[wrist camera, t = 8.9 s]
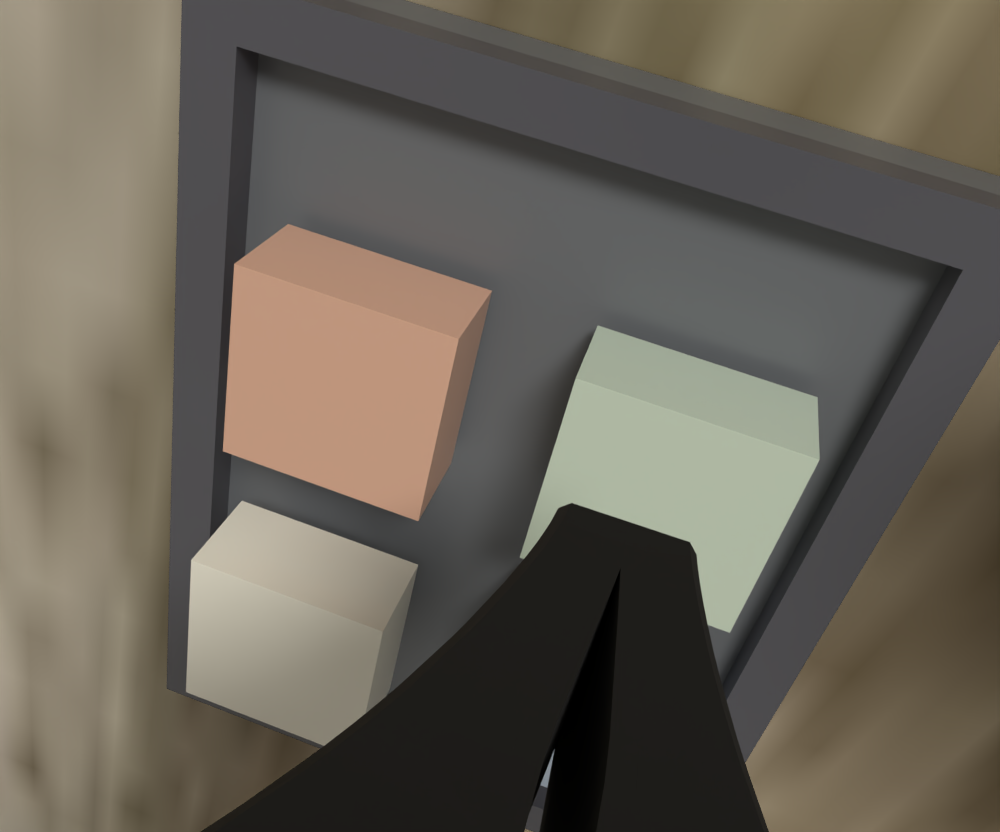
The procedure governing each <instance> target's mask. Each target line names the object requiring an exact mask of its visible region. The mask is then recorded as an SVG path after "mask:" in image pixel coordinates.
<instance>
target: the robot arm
mask: <svg viewBox="0 0 1000 832" xmlns="http://www.w3.org/2000/svg"><path fill="white" fill-rule="evenodd" d="M554 749H555V750H554ZM553 752H554V755H553V760H552V766H551V771H550V776H549V782H548V787H547V793H546V798H545V803H544V809H543V814H542V820H541V825H540V831H539V832H769V831H768V828H767V826H766V823H765V820H764V817H763V814H762V811H761V808H760V805H759V803H758V800H757V797H756V794H755V791H754V788H753V785H752V783H751V780H750V777H749V774H748V771H747V768H746V764H745V761H744V758H743V755H742V752H741V749H740V745H739V742H738V739H737V736H736V732H735V729H734V725H733V722H732V718H731V714H730V711H729V707H728V704H727V700H726V697H725V693H724V690H723V686H722V683H721V679H720V675H719V671H718V667H717V663H716V659H715V655H714V651H713V646H712V642H711V637H710V633H709V628H708V624H707V619H706V614H705V609H704V603H703V598H702V592H701V586H700V579H699V572H698V564H697V554H696V552H695V551H694V549H693V547H692V545H691V543H690V542H688V541H685V540H682V539H679V538H676V537H673V536H670V535H667V534H664V533H661V532H658V531H655V530H652V529H649V528H646V527H643V526H640V525H637V524H634V523H631V522H628V521H625V520H622V519H619V518H616V517H613V516H610V515H607V514H604V513H601V512H598V511H595V510H592V509H589V508H586V507H583V506H580V505H577V504H574V503H570V504H567V505H565V506H562V507H559V508H558V509H557V511H556V513H555V515H554V517H553V519H552V521H551V522H550V524H549V525H548V527H547V528H546V530H545V531H544V533H543V534H542V536H541V537H540V539H539V540H538V541H537V543H536V544H535V545H534V547H533V548H532V549H531V551H530V552H529V553H528V554H527V556H526V557H525V558H524V559H523V561H522V562H521V563H520V564H519V565H518V567H517V568H516V569H515V570H514V571H513V573H512V574H511V575H510V576H509V577H508V579H507V580H506V581H505V582H504V583H503V584H502V585H501V586H500V587H499V588H498V589H497V590H496V592H495V593H494V594H493V595H492V596H491V597H490V598H489V599H488V600H487V601H486V602H485V603H484V604H483V605H482V606H481V607H480V609H479V610H478V611H477V612H476V613H475V614H474V615H473V616H472V617H471V618H470V619H469V620H468V621H467V622H466V623H465V624H464V625H463V626H462V627H461V628H460V629H459V630H458V631H457V632H456V633H455V634H454V635H453V636H452V637H451V638H450V639H449V640H448V641H447V642H446V643H445V644H444V645H442V646H441V647H440V648H439V649H438V650H437V651H436V652H435V653H434V654H433V655H432V656H430V657H429V658H428V659H427V660H426V661H425V662H424V663H423V664H422V665H421V666H420V667H419V668H417V669H416V670H415V671H414V672H413V673H412V674H411V675H410V676H409V677H408V678H407V679H405V680H404V681H403V682H402V683H401V684H400V685H399V686H398V687H396V688H395V689H394V690H393V691H392V692H391V693H389V694H388V695H387V696H386V697H385V698H383V699H382V700H381V701H380V702H379V703H378V704H376V705H375V706H374V707H373V708H372V709H370V710H369V711H368V712H367V713H365V714H364V715H363V716H362V717H360V718H359V719H358V720H357V721H356V722H354V723H353V724H352V725H350V726H349V727H348V728H347V729H345V730H344V731H343V732H341V733H340V734H339V735H338V736H336V737H335V738H334V739H332V740H331V741H330V742H328V743H327V744H326V745H325V746H323V747H322V748H321V749H319V750H318V751H317V752H315V753H314V754H313V755H311V756H310V757H309V758H307V759H306V760H305V761H303V762H302V763H300V764H299V765H297V766H296V767H295V768H293V769H292V770H290V771H289V772H288V773H286V774H285V775H283V776H282V777H280V778H279V779H278V780H276V781H275V782H273V783H272V784H271V785H269V786H268V787H266V788H265V789H263V790H262V791H261V792H259V793H258V794H256V795H255V796H254V797H252V798H251V799H249V800H248V801H246V802H245V803H244V804H242V805H241V806H239V807H238V808H236V809H235V810H233V811H232V812H230V813H229V814H227V815H226V816H224V817H222V818H221V819H219V820H218V821H216V822H215V823H213V824H212V825H210V826H209V827H207V828H206V829H204V830H203V831H201V832H524V830H525V827H526V823H527V819H528V815H529V813H530V810H531V808H532V805H533V803H534V800H535V798H536V795H537V792H538V790H539V787H540V785H541V782H542V780H543V777H544V775H545V772H546V770H547V767H548V764H549V762H550V759H551V757H552V754H553Z"/></svg>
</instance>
